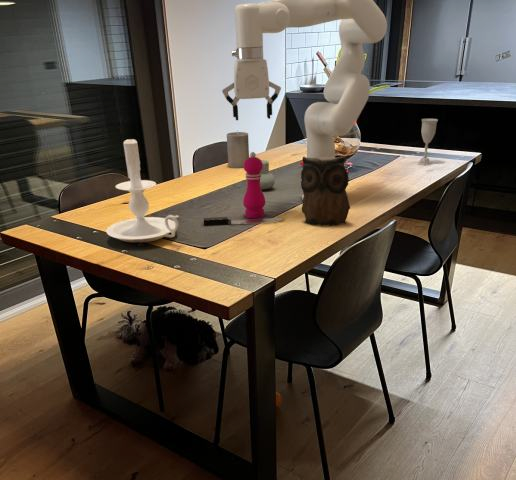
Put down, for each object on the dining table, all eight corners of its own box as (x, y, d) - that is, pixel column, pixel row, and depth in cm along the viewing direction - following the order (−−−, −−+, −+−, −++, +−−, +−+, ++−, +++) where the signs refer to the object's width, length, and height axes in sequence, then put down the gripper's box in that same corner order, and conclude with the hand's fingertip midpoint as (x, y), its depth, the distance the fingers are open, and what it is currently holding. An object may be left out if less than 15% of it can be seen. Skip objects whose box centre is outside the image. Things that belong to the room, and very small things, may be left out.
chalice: (434, 165, 232) (440, 120, 223) (418, 165, 233) (423, 121, 224) (430, 161, 239) (435, 118, 230) (414, 162, 239) (419, 118, 230)
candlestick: (157, 257, 146) (143, 149, 131) (93, 242, 157) (74, 142, 143) (203, 235, 161) (194, 136, 146) (141, 223, 172) (128, 130, 158)
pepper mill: (263, 219, 172) (261, 154, 162) (241, 218, 174) (238, 154, 164) (267, 212, 179) (266, 149, 169) (246, 212, 180) (243, 149, 170)
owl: (350, 224, 165) (354, 156, 155) (315, 230, 161) (316, 161, 151) (329, 213, 175) (332, 149, 165) (295, 219, 171) (296, 154, 161)
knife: (282, 218, 173) (282, 212, 172) (283, 222, 169) (283, 216, 168) (204, 222, 171) (203, 217, 170) (203, 226, 168) (203, 220, 167)
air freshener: (247, 186, 210) (246, 160, 205) (267, 184, 212) (266, 158, 207) (255, 193, 201) (254, 165, 196) (276, 190, 203) (276, 163, 198)
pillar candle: (236, 162, 249) (235, 128, 241) (253, 164, 244) (252, 129, 236) (223, 166, 242) (221, 131, 235) (240, 169, 237) (239, 133, 230)
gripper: (220, 56, 150) (224, 122, 158) (281, 53, 150) (282, 119, 159) (219, 55, 156) (224, 118, 165) (278, 52, 157) (279, 115, 166)
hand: (252, 118), depth 162 cm, fingers open, 9 cm apart
